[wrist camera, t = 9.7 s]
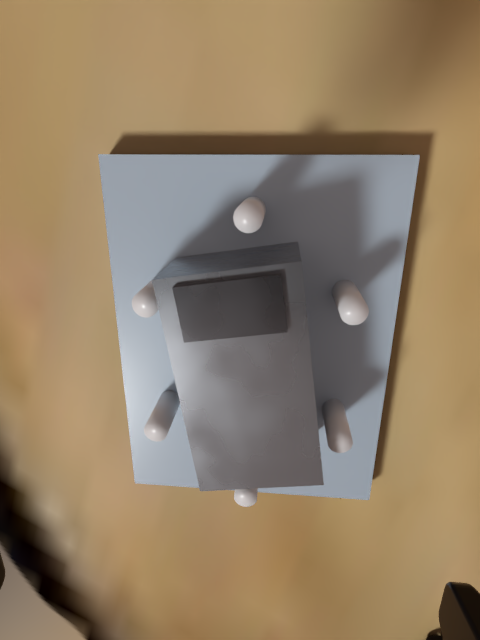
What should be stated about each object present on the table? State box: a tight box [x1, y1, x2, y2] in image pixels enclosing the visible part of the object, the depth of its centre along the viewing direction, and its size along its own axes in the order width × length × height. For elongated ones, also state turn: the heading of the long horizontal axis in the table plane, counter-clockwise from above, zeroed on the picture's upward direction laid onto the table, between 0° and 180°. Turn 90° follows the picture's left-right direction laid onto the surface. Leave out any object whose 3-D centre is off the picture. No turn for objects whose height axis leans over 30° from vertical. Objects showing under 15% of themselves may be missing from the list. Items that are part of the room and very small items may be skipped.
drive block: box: [152, 241, 324, 491], centre depth 17 cm, size 9×5×4 cm, turn 9°
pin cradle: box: [98, 154, 420, 507], centre depth 18 cm, size 16×12×4 cm
